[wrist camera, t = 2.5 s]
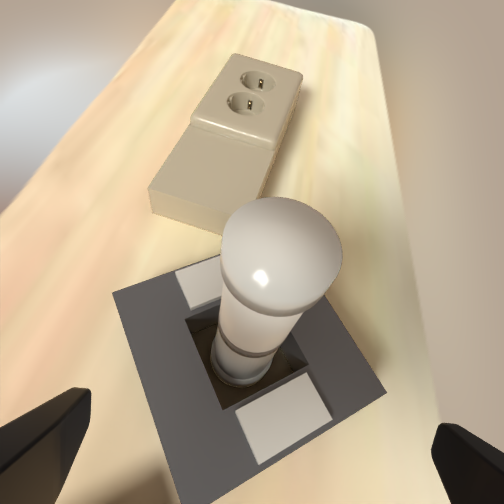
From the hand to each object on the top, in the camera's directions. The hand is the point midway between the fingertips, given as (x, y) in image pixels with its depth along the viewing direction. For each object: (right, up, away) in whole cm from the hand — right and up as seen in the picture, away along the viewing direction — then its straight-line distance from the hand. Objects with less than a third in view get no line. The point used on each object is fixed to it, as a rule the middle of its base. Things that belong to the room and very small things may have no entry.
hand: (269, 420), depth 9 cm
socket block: (-1, -2, +12) cm, 12 cm away
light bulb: (-1, -2, +12) cm, 12 cm away
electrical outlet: (-2, +13, +22) cm, 25 cm away
